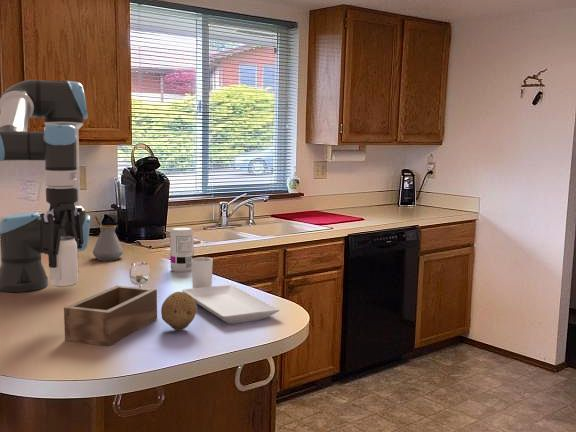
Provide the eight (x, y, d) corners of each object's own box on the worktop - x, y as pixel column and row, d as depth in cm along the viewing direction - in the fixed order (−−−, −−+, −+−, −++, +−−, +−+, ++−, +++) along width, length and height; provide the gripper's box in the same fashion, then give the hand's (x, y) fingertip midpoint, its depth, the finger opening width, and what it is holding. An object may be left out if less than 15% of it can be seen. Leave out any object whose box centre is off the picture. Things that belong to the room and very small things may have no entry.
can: (69, 288, 157) (68, 241, 155) (46, 286, 158) (44, 239, 157) (82, 281, 163) (81, 236, 162) (60, 280, 165) (58, 235, 163)
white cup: (196, 294, 193) (196, 262, 192) (188, 289, 199) (187, 258, 197) (216, 291, 197) (216, 260, 195) (207, 287, 202) (207, 256, 201)
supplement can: (166, 271, 224) (165, 229, 222) (178, 266, 232) (178, 226, 230) (185, 273, 221) (185, 231, 219) (197, 268, 229) (197, 228, 227)
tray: (232, 294, 195) (232, 283, 195) (280, 321, 168) (281, 308, 168) (180, 300, 187) (180, 289, 187) (222, 329, 160) (222, 316, 159)
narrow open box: (64, 340, 149) (63, 307, 148) (117, 314, 171) (116, 285, 170) (109, 346, 145) (108, 312, 144) (157, 318, 167) (156, 289, 166)
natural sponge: (195, 336, 153) (195, 296, 152) (158, 336, 153) (158, 296, 151) (197, 325, 162) (197, 287, 161) (162, 325, 162) (162, 287, 160)
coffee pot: (127, 260, 242) (127, 221, 240) (97, 262, 236) (96, 223, 234) (110, 250, 260) (109, 215, 258) (82, 253, 254) (81, 216, 252)
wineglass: (140, 308, 176) (139, 266, 175) (125, 305, 179) (124, 264, 178) (154, 304, 181) (154, 263, 180) (140, 301, 184) (139, 260, 183)
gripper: (49, 191, 147) (52, 287, 150) (96, 184, 165) (98, 269, 169) (22, 189, 149) (26, 284, 152) (72, 182, 168) (74, 267, 171)
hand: (64, 276), depth 161 cm, fingers closed on can, 6 cm apart
